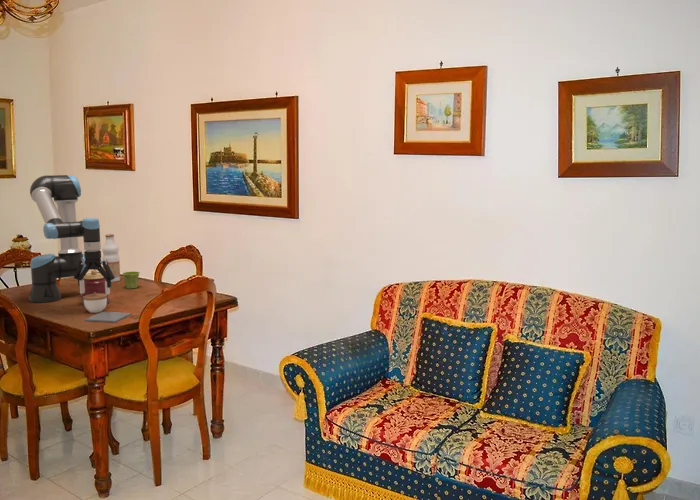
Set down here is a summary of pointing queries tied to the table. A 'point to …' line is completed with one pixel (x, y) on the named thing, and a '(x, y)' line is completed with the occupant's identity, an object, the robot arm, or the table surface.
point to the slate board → (108, 317)
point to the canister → (94, 284)
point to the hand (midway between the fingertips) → (95, 293)
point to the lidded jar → (95, 302)
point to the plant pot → (131, 279)
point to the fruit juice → (111, 256)
